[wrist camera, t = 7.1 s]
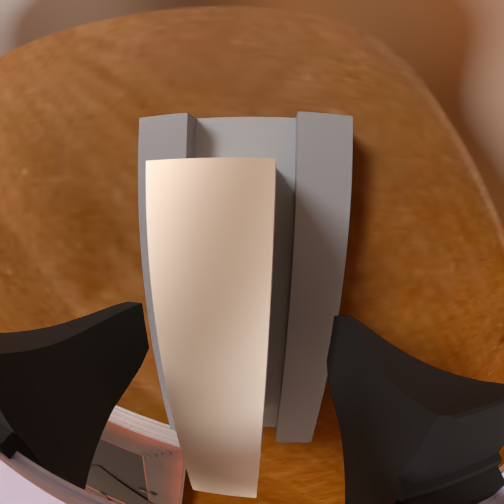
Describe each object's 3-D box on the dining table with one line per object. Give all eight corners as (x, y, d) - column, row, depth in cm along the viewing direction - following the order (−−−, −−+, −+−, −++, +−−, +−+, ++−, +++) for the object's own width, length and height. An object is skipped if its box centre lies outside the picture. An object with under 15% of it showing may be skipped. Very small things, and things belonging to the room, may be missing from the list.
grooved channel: (341, 124, 11) (352, 116, 9) (309, 420, 15) (311, 442, 13) (157, 124, 11) (139, 117, 10) (179, 409, 15) (171, 429, 14)
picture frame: (181, 514, 22) (193, 425, 17) (177, 529, 20) (185, 451, 14) (65, 465, 23) (18, 345, 17) (58, 477, 20) (1, 359, 15)
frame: (276, 168, 11) (275, 158, 5) (264, 405, 14) (256, 497, 8) (210, 167, 11) (145, 160, 5) (217, 401, 14) (192, 489, 8)
